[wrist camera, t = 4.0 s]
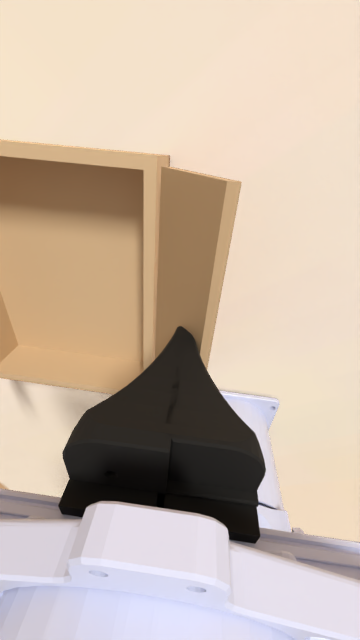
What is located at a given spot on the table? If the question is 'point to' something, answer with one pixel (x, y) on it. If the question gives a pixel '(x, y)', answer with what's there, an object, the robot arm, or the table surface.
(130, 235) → the carton
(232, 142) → the table surface
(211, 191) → the flap
